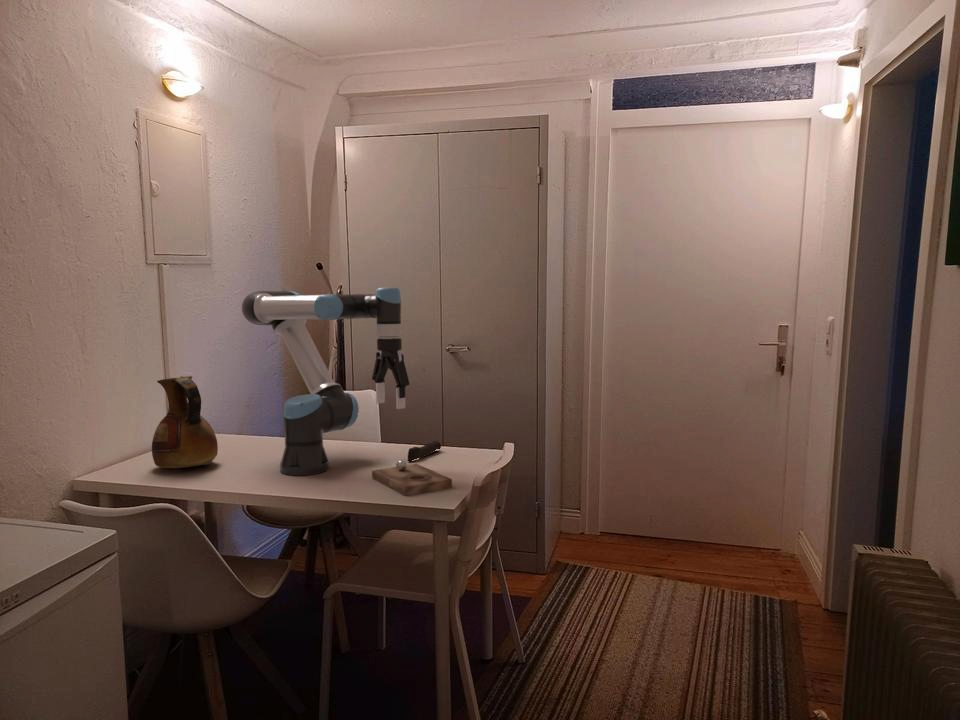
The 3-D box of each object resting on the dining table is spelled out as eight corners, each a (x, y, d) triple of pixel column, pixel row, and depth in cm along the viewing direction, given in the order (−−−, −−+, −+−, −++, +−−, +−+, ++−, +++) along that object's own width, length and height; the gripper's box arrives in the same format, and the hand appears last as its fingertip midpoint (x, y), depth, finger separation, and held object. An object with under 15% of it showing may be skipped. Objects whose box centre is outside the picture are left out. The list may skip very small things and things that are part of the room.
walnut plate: (404, 495, 191) (404, 486, 191) (372, 478, 210) (372, 470, 210) (451, 487, 200) (451, 479, 199) (416, 471, 218) (416, 463, 218)
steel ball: (399, 472, 207) (399, 461, 207) (394, 470, 210) (394, 459, 210) (409, 470, 209) (408, 460, 209) (404, 468, 212) (404, 458, 211)
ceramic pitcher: (192, 457, 239) (188, 371, 237) (232, 464, 229) (228, 374, 226) (139, 470, 222) (134, 377, 220) (179, 478, 212) (175, 380, 209)
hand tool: (431, 451, 248) (431, 438, 248) (441, 452, 246) (441, 439, 246) (401, 462, 231) (400, 449, 231) (411, 464, 230) (410, 450, 229)
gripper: (419, 338, 207) (421, 409, 209) (381, 335, 227) (383, 399, 229) (397, 340, 203) (398, 412, 205) (360, 336, 223) (362, 402, 225)
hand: (390, 405), depth 217 cm, fingers open, 13 cm apart
